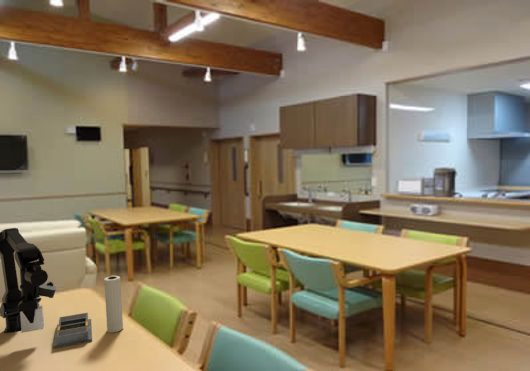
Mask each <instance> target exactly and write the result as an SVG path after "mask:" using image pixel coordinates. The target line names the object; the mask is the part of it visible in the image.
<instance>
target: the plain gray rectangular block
mask: <svg viewBox="0 0 530 371" xmlns="http://www.w3.org/2000/svg"><path fill="white" fill-rule="evenodd" d="M43 307H44V305H39V307H38V309H36V310H35V316H34V322H33V323H30V322H29V321H28V319H27V318H26V316H25V315H24V313H23V312H20V317H21V330H20V331H21V333H22V334H23V333H28V332H34V331H39V330H40V331H41V330H44V328H45V322H44V308H43Z"/></svg>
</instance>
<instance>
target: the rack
mask: <svg viewBox="0 0 530 371" xmlns="http://www.w3.org/2000/svg"><path fill="white" fill-rule="evenodd" d="M92 328H93V327H92V318H89V312H83V313H77V314H76V313H75V314H71V315H65V316H59V320H58V324H56V328H55V332H54V338H53V339H54V340H53V345H52V347H53V349H59V348H63V347H68V346H74V345H78V344H79V345H80V344H84V343H90V342H93V331H92V330H93V329H92Z"/></svg>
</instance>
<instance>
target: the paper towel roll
mask: <svg viewBox="0 0 530 371" xmlns="http://www.w3.org/2000/svg"><path fill="white" fill-rule="evenodd" d="M103 280H104V294H105V295H104V298H105V311H106V313H105V315H106V330H107V332H108V333H117V332H120V331H122V330H123V329H124V322H123V320H124V318H123V302H122V285H121V284H122V283H121V277H120V276H119V275H113V274H111V275H110V276H107V277H104V279H103Z"/></svg>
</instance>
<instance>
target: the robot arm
mask: <svg viewBox="0 0 530 371" xmlns="http://www.w3.org/2000/svg"><path fill="white" fill-rule="evenodd" d="M43 256H44V255H43V254H42V252H41V250H40V248H38V246H36V244H34V243H30V242H28V241H27V240H26V239H25V238H24V237H23V235H22V234H21V233H20V231H19V228H18V227H11V228H4V229H3V230H1V231H0V262H1V268H2V276H3V284H4V289H5V292H4V293H3V296H2V298H1V305H0V317H1V318H2V319H4V320H5V328H4V330H3V333H4V334H5V333H10V332H11V333H12V332H16V331H21V317H20V312H23V313H24V315H25V316H26V318H27V319H28V321H29V322H30V323H33V322H34V316H35V310H36V309H38V307H39V306H40V302H41V300H42V297H45V298H49V299H53V298H54V297H55V296H54V295H55V293H56V290H57V287H56V286H55V285H54V282H53V281H48V279H49V275H48V273H47V271H46V270H45V269H43V268H42V266H44V265H45V258H44V257H43ZM16 264H17V266H18V268H19V278H20V279H19V280H20V285H19V281H18V274H17V267H16ZM47 281H48V282H47ZM46 282H47V283H46Z"/></svg>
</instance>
